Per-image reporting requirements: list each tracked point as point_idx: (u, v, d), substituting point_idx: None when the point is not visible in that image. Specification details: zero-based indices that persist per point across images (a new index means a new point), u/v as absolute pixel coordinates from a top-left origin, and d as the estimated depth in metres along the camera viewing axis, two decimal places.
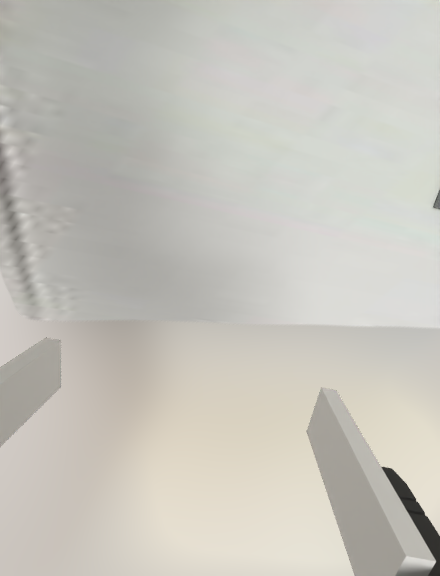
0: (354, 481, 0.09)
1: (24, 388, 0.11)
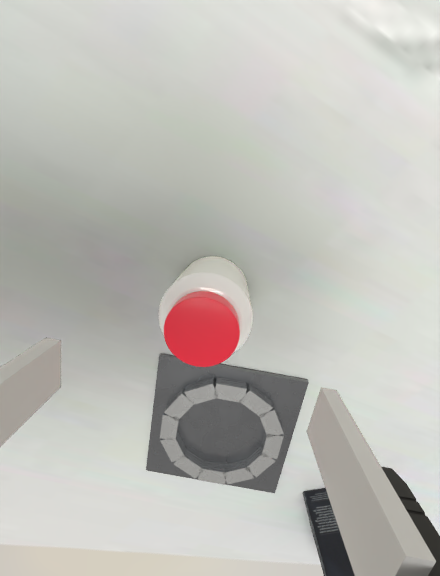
0: (354, 481, 0.09)
1: (24, 388, 0.11)
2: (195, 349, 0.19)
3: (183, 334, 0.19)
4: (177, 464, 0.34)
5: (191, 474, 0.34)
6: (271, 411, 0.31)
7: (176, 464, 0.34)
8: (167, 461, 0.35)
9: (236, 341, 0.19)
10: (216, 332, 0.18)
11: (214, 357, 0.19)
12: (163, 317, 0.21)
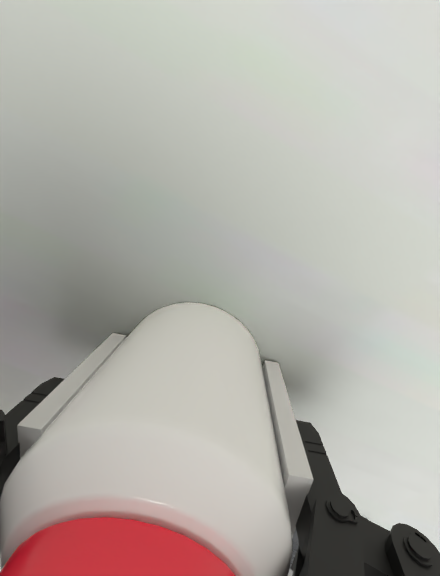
0: None
1: None
2: None
3: None
4: None
5: None
6: None
7: None
8: None
9: None
10: None
11: None
12: None
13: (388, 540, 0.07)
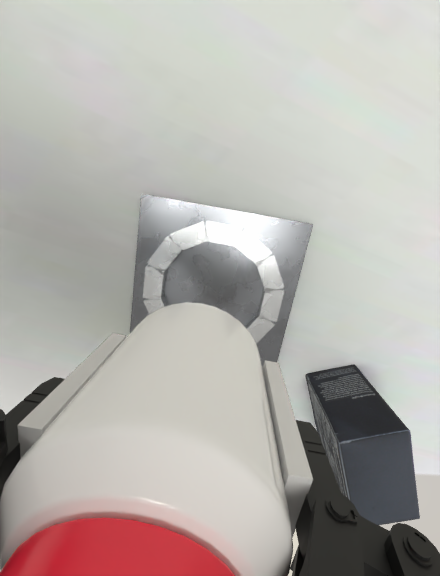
0: None
1: None
2: None
3: None
4: None
5: None
6: (270, 257, 0.27)
7: None
8: None
9: None
10: None
11: None
12: None
13: (388, 540, 0.07)
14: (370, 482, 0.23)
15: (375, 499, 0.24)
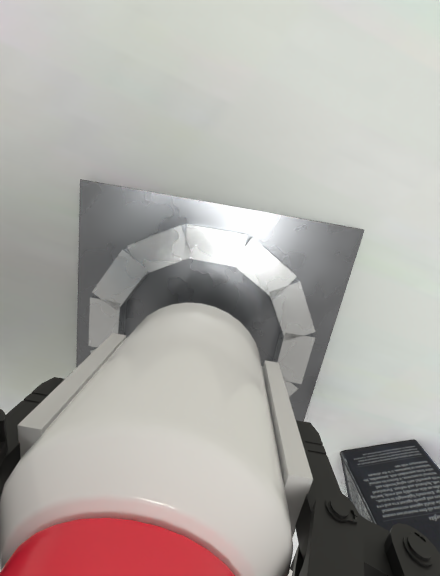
0: None
1: None
2: None
3: None
4: None
5: None
6: (293, 284, 0.16)
7: None
8: None
9: None
10: None
11: None
12: None
13: (388, 540, 0.07)
14: None
15: None
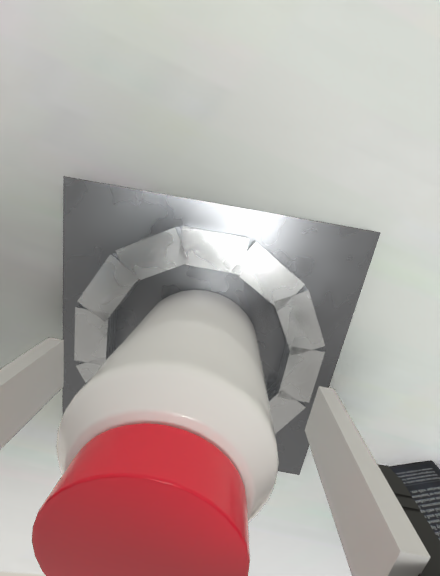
0: (351, 479, 0.09)
1: (27, 387, 0.11)
2: None
3: (88, 559, 0.07)
4: None
5: None
6: (301, 294, 0.15)
7: None
8: None
9: None
10: (183, 560, 0.06)
11: None
12: (61, 468, 0.08)
13: None
14: None
15: None
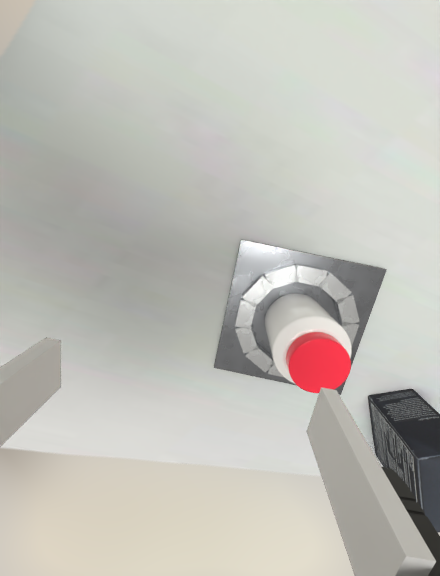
0: (354, 481, 0.09)
1: (24, 388, 0.11)
2: (312, 379, 0.24)
3: (305, 366, 0.24)
4: (249, 356, 0.34)
5: (262, 367, 0.35)
6: (349, 296, 0.32)
7: (248, 356, 0.34)
8: (236, 357, 0.36)
9: (347, 374, 0.23)
10: (332, 366, 0.23)
11: (327, 385, 0.24)
12: (280, 350, 0.25)
13: None
14: None
15: None
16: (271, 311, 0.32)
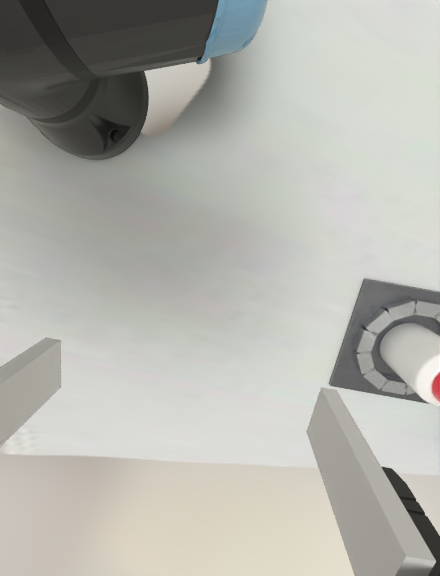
0: (354, 481, 0.09)
1: (24, 388, 0.11)
2: None
3: None
4: (366, 376, 0.40)
5: (376, 385, 0.40)
6: None
7: (365, 376, 0.40)
8: (351, 377, 0.42)
9: None
10: None
11: None
12: (426, 379, 0.31)
13: None
14: None
15: None
16: (392, 339, 0.37)
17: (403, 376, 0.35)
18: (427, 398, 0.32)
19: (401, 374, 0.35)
